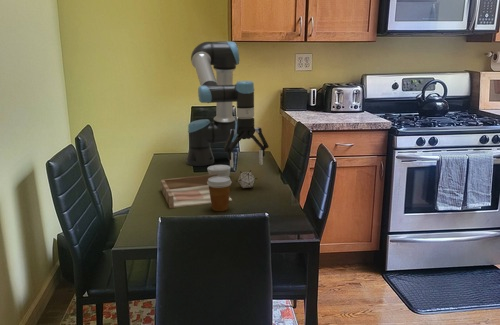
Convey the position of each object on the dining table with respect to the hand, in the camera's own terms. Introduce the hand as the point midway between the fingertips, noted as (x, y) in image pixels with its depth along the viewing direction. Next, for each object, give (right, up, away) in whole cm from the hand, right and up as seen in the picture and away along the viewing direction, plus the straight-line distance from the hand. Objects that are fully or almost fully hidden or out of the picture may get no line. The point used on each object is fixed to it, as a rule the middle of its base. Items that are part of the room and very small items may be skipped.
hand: (246, 165), depth 200 cm
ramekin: (-13, -6, +20) cm, 25 cm away
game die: (0, -10, +3) cm, 11 cm away
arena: (-22, -13, -6) cm, 26 cm away
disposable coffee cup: (-10, -17, -22) cm, 29 cm away
